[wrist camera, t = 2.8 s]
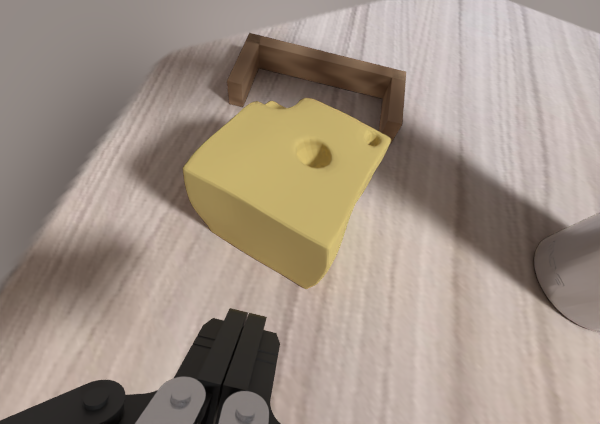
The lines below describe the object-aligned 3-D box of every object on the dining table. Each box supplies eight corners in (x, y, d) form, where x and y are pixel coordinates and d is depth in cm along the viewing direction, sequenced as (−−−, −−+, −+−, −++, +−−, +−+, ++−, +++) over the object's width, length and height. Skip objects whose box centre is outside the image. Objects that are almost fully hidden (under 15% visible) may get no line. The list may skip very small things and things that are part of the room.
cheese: (266, 153, 32) (269, 69, 23) (361, 205, 30) (404, 136, 21) (201, 233, 27) (173, 166, 18) (309, 299, 26) (336, 261, 17)
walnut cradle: (395, 92, 38) (406, 71, 35) (391, 143, 34) (402, 124, 32) (250, 56, 38) (249, 32, 35) (229, 103, 34) (226, 80, 31)
